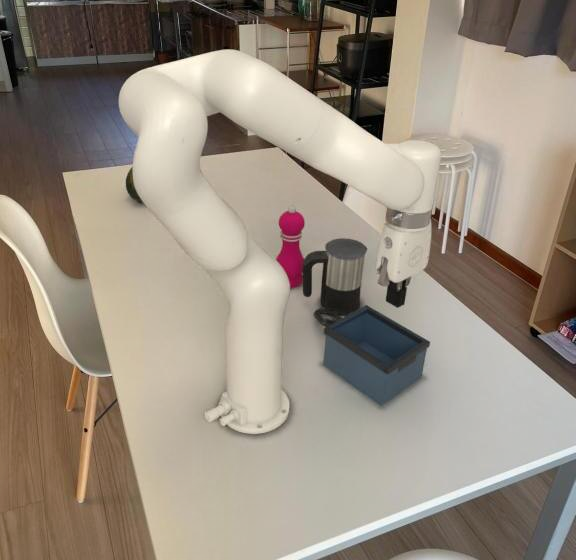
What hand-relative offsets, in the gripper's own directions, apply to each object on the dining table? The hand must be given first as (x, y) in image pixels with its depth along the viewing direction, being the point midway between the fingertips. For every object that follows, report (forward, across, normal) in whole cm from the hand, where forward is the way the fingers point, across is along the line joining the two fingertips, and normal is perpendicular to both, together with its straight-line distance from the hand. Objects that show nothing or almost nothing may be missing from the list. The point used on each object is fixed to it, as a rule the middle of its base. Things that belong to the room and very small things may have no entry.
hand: (394, 303), depth 108 cm
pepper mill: (+14, +6, +35) cm, 38 cm away
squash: (+14, +6, +98) cm, 99 cm away
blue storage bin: (+10, +2, 0) cm, 10 cm away
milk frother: (+14, +5, +18) cm, 24 cm away
